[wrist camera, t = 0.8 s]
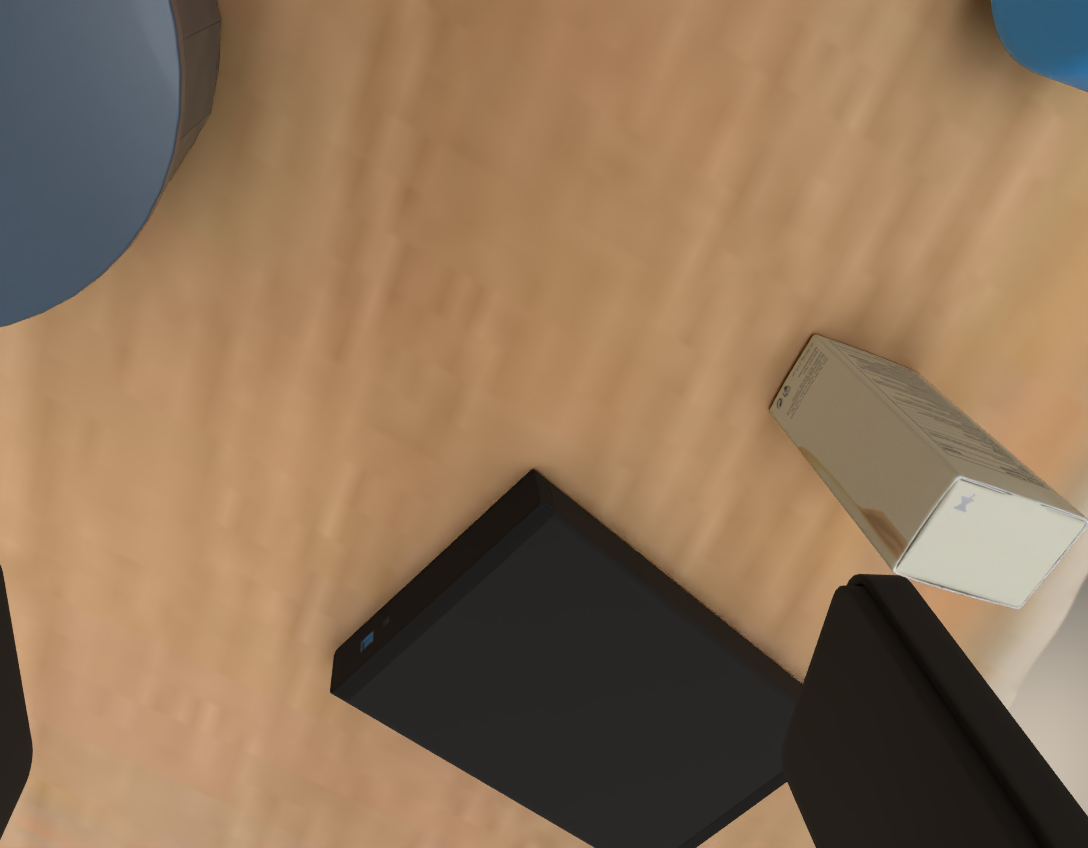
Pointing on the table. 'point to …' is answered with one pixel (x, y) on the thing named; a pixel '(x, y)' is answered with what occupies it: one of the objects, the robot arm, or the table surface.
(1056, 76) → the alarm clock
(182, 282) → the table surface
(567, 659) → the external hard drive
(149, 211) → the lid
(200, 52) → the pot
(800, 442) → the cosmetic box
